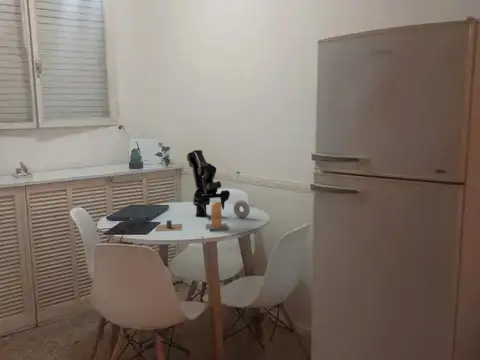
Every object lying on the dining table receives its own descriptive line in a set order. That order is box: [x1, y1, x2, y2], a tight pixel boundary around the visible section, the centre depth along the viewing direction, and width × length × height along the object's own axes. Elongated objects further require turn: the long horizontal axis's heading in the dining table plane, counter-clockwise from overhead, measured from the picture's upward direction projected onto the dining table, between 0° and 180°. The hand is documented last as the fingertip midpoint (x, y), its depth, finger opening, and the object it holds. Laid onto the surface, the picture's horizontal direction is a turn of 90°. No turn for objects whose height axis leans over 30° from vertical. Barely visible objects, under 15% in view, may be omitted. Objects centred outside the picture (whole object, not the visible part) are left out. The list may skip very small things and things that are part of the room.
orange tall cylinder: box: [210, 201, 223, 228], centre depth 251 cm, size 5×5×12 cm
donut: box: [233, 199, 251, 219], centre depth 274 cm, size 10×4×10 cm, turn 59°
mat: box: [205, 223, 229, 232], centre depth 252 cm, size 11×11×1 cm
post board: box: [155, 219, 183, 232], centre depth 251 cm, size 13×13×4 cm
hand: (214, 209), depth 254 cm, fingers open, 9 cm apart
